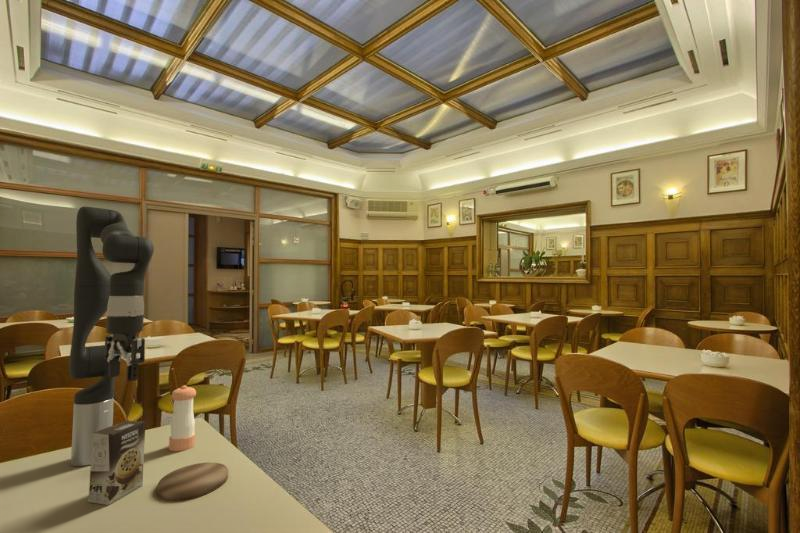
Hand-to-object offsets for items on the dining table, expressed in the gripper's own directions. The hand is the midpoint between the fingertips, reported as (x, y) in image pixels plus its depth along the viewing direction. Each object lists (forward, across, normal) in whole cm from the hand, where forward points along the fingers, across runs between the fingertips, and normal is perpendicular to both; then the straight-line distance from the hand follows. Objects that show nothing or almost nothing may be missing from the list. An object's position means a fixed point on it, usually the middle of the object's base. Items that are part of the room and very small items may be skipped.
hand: (122, 378), depth 92 cm
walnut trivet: (+28, +12, +12) cm, 32 cm away
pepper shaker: (+28, -13, +24) cm, 39 cm away
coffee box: (+28, 0, 0) cm, 28 cm away
